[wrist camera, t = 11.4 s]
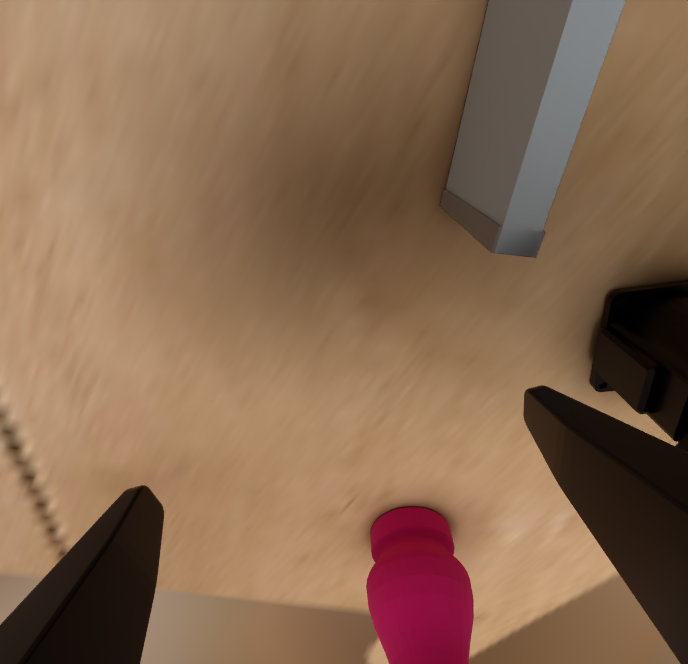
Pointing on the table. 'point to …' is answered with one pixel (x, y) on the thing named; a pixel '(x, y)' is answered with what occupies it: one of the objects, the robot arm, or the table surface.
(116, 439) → the table surface
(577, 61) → the grey thin rectangular panel
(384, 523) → the pepper mill
